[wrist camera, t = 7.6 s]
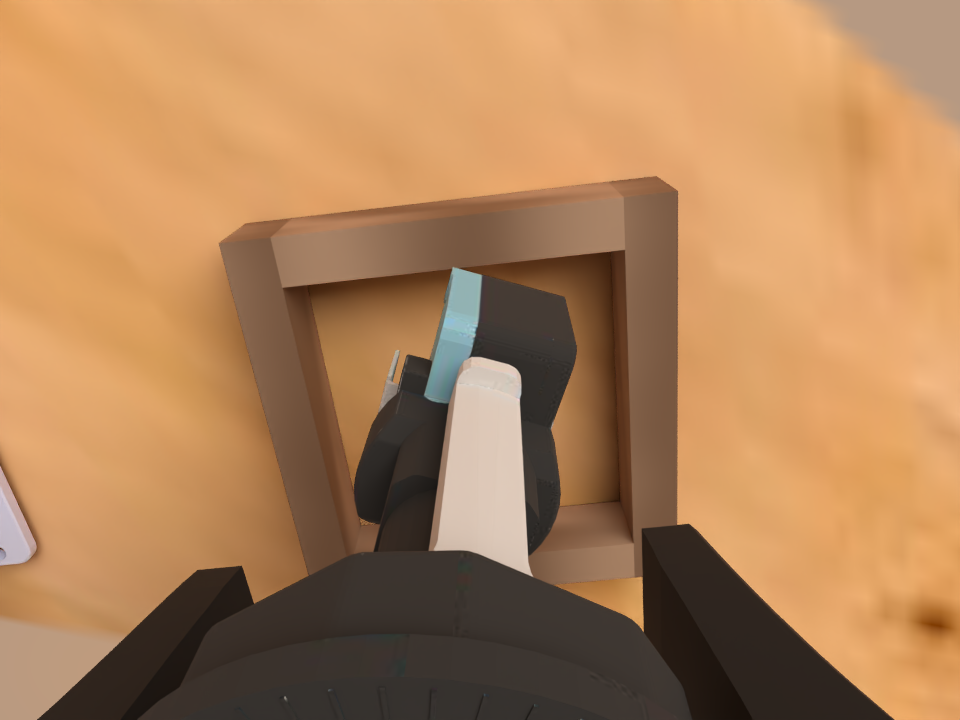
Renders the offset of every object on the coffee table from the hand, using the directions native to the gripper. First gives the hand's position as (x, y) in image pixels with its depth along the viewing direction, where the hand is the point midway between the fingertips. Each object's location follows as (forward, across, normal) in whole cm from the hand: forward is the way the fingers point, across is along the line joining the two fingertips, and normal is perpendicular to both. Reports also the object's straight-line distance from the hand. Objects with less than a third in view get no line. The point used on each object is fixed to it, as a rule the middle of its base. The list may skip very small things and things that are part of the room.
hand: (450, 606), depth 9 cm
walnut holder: (+10, 0, +2) cm, 11 cm away
